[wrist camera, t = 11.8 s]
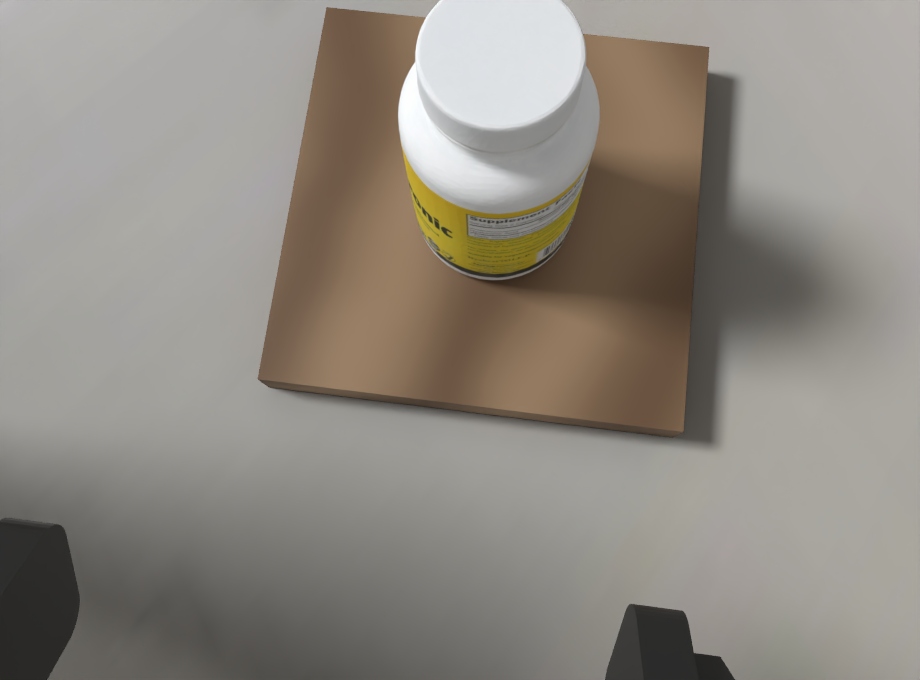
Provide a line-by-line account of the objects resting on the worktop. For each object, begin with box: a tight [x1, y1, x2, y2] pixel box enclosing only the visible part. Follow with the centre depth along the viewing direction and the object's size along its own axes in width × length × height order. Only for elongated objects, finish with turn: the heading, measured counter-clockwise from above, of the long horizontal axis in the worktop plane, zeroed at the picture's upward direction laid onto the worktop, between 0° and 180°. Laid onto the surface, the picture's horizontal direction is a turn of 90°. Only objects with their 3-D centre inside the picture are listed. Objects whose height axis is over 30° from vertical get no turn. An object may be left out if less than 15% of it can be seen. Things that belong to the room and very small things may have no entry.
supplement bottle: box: [398, 0, 600, 280], centre depth 24 cm, size 5×5×10 cm
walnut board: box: [258, 7, 709, 437], centre depth 29 cm, size 14×14×2 cm
